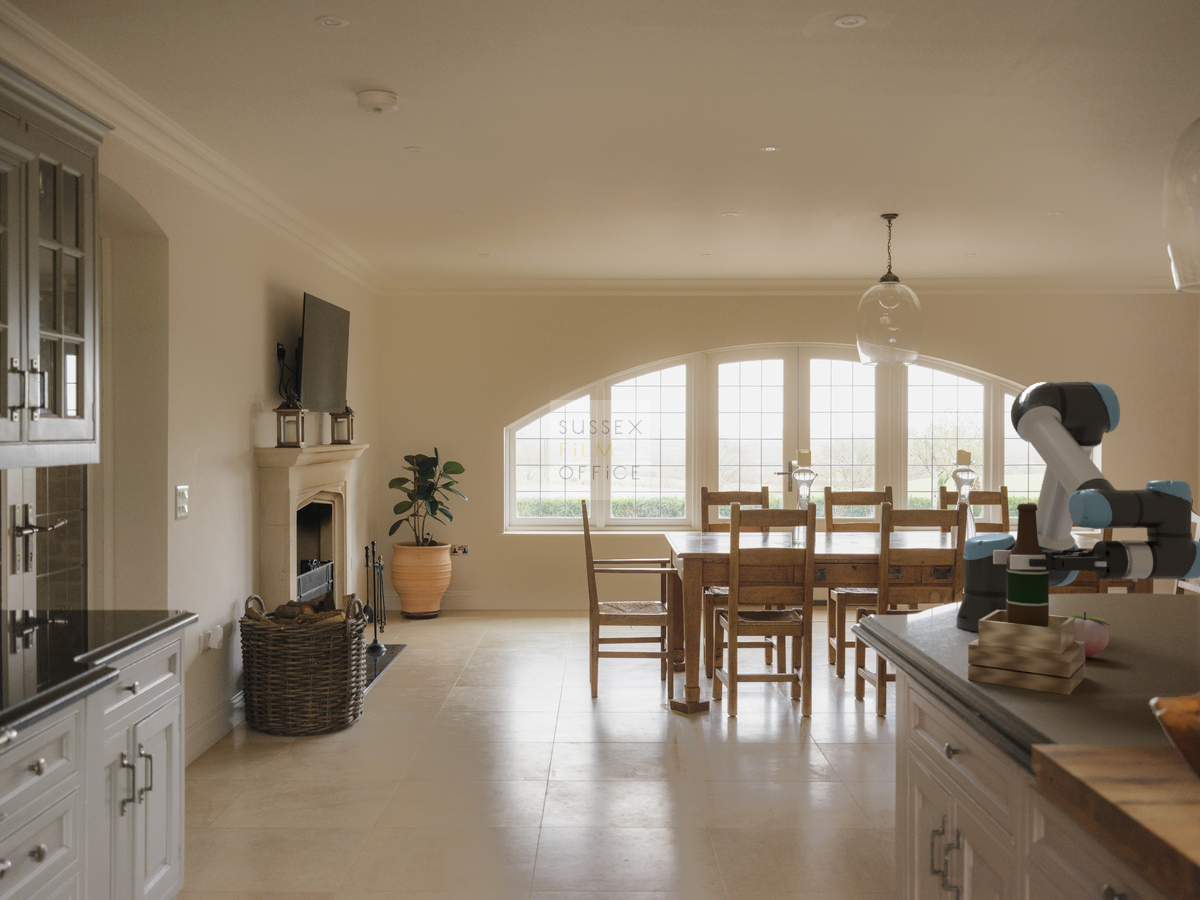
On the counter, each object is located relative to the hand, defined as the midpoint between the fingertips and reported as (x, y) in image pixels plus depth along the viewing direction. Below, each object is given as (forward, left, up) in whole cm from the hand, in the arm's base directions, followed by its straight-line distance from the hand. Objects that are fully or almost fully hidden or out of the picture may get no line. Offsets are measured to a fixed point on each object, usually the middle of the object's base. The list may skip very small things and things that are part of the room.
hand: (1002, 559), depth 180 cm
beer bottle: (+4, +3, -13) cm, 14 cm away
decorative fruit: (+10, +30, -24) cm, 39 cm away
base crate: (+4, +3, -23) cm, 24 cm away
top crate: (+4, +3, -16) cm, 17 cm away
